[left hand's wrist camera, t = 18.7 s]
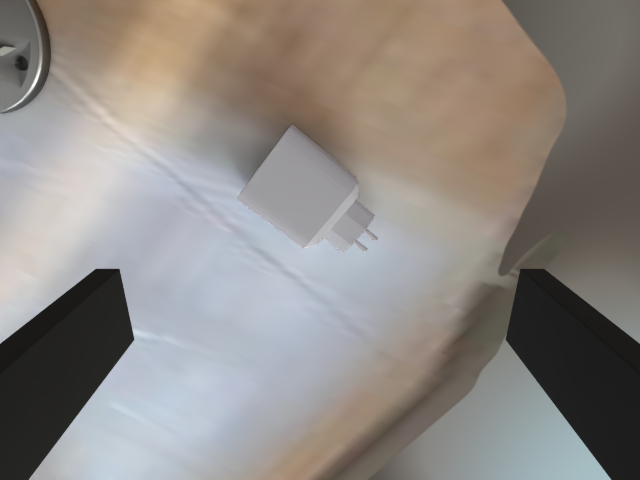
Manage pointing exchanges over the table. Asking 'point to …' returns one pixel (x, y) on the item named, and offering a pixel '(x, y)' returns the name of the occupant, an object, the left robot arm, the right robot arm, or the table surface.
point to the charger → (307, 195)
